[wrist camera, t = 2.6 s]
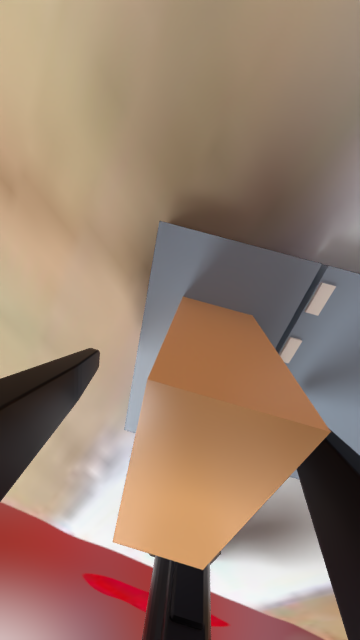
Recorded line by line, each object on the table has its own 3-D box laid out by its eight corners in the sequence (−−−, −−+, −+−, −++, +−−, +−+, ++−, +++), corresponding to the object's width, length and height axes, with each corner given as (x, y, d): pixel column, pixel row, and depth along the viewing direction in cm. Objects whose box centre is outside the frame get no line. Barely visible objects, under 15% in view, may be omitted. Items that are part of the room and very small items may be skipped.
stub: (214, 440, 12) (222, 602, 7) (130, 415, 12) (69, 554, 7) (307, 261, 7) (631, 314, 2) (165, 223, 7) (48, 163, 2)
